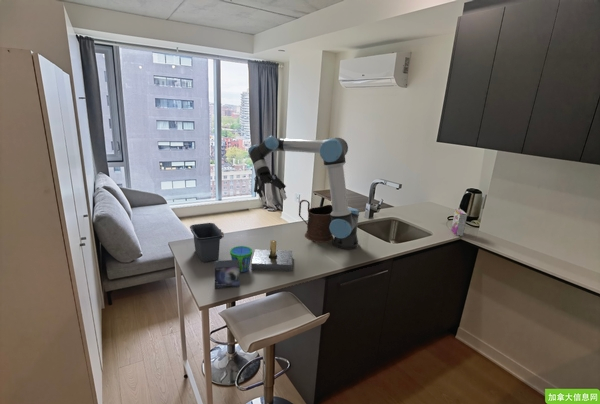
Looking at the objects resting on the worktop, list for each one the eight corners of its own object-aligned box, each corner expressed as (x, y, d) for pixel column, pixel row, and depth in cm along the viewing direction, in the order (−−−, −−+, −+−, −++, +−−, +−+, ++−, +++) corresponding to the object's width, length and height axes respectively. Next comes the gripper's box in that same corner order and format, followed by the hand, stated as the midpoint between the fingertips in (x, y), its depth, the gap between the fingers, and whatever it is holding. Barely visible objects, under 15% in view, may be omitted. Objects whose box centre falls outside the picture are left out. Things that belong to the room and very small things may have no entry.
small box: (214, 289, 131) (214, 267, 128) (214, 281, 137) (214, 260, 134) (239, 287, 134) (239, 265, 131) (238, 279, 140) (238, 259, 137)
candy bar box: (450, 230, 222) (454, 208, 218) (457, 231, 222) (462, 209, 217) (455, 235, 212) (460, 213, 207) (463, 236, 211) (468, 214, 207)
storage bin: (189, 249, 167) (188, 224, 163) (217, 244, 175) (216, 221, 171) (198, 266, 150) (197, 239, 146) (228, 260, 158) (228, 234, 154)
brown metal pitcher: (338, 240, 191) (342, 202, 184) (303, 244, 182) (305, 204, 175) (325, 230, 208) (328, 194, 201) (292, 233, 199) (294, 196, 192)
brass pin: (275, 261, 159) (276, 240, 156) (275, 264, 156) (276, 242, 153) (269, 261, 159) (270, 240, 156) (269, 264, 156) (270, 242, 153)
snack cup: (249, 278, 142) (249, 258, 139) (226, 276, 142) (226, 257, 139) (254, 262, 157) (254, 244, 154) (233, 261, 157) (233, 243, 154)
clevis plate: (291, 256, 166) (292, 250, 165) (291, 271, 150) (292, 264, 149) (255, 255, 165) (255, 249, 164) (251, 269, 149) (251, 263, 148)
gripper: (277, 171, 187) (290, 201, 180) (240, 174, 172) (253, 206, 165) (282, 164, 182) (296, 194, 175) (245, 166, 167) (258, 199, 160)
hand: (275, 200), depth 170 cm, fingers open, 13 cm apart
